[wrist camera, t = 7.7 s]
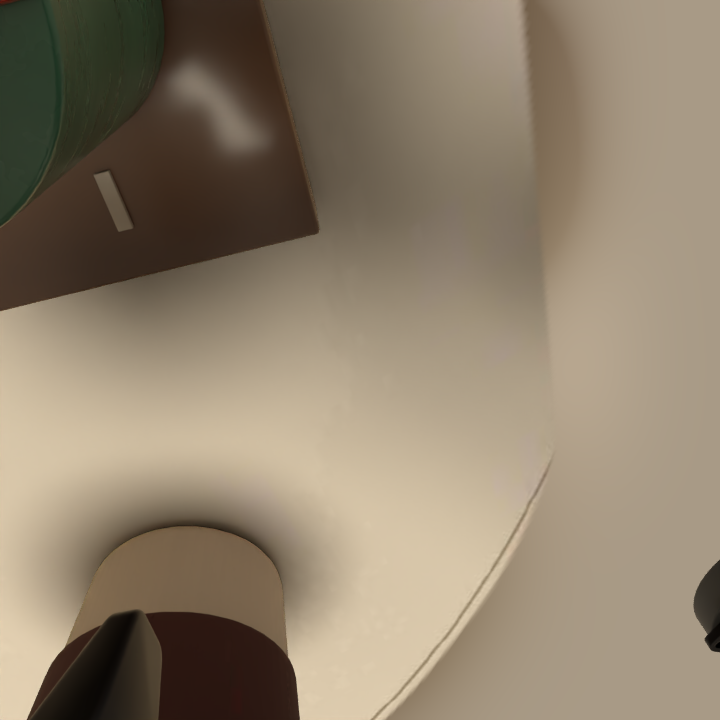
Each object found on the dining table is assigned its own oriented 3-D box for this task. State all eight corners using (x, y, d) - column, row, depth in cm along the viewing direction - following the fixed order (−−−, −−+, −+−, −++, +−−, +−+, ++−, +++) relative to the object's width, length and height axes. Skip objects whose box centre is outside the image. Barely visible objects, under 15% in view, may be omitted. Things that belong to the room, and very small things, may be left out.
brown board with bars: (323, 208, 17) (328, 234, 15) (0, 287, 17) (-33, 322, 15) (161, -444, 11) (136, -533, 9) (-348, -308, 11) (-475, -369, 9)
